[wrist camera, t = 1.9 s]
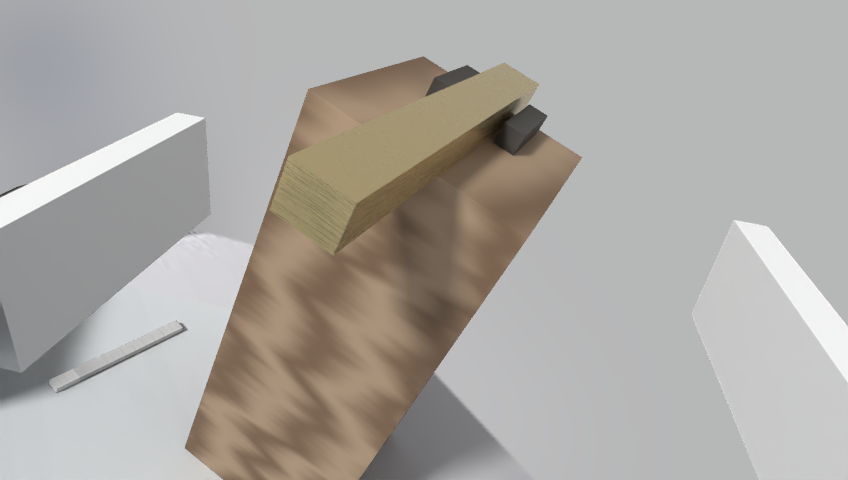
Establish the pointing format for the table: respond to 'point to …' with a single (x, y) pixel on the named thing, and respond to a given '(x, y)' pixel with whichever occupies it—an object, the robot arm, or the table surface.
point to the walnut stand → (366, 293)
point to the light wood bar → (393, 156)
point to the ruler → (113, 357)
